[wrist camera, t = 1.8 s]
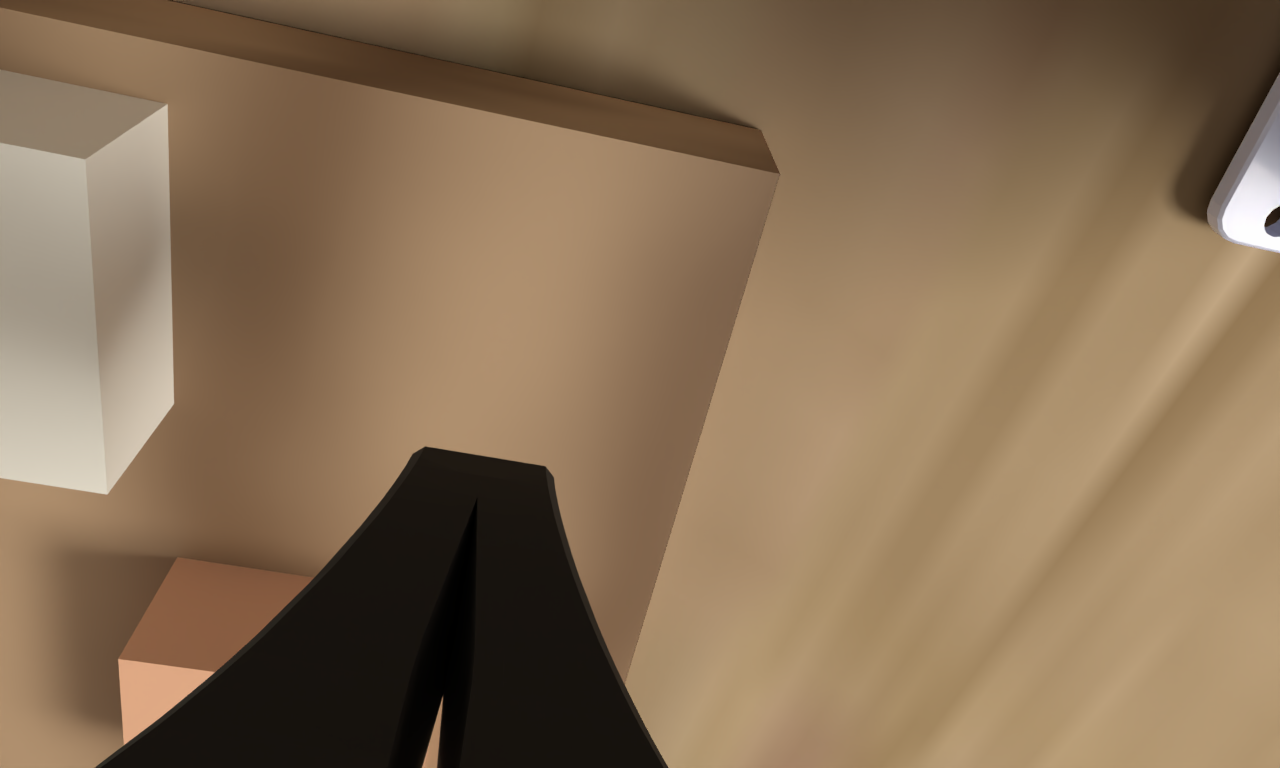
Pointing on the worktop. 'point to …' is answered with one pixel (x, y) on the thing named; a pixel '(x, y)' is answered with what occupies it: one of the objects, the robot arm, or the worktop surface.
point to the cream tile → (82, 281)
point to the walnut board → (376, 324)
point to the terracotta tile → (195, 633)
